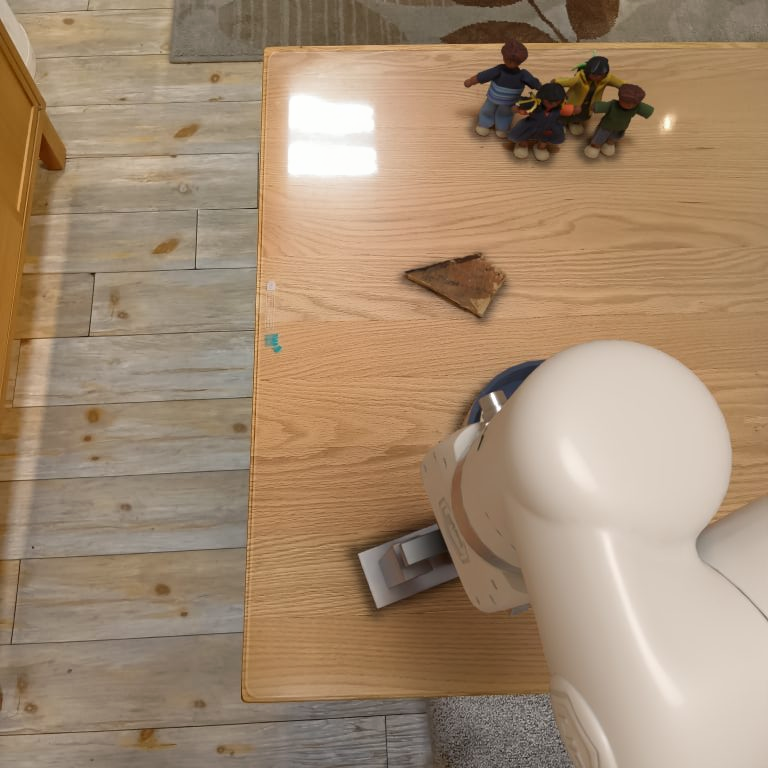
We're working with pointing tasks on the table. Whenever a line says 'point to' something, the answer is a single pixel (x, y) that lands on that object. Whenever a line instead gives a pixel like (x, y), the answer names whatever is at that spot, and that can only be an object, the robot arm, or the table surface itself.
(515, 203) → the table surface
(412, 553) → the stirring stick
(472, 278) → the shard
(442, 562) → the stick stand
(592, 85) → the doll family
